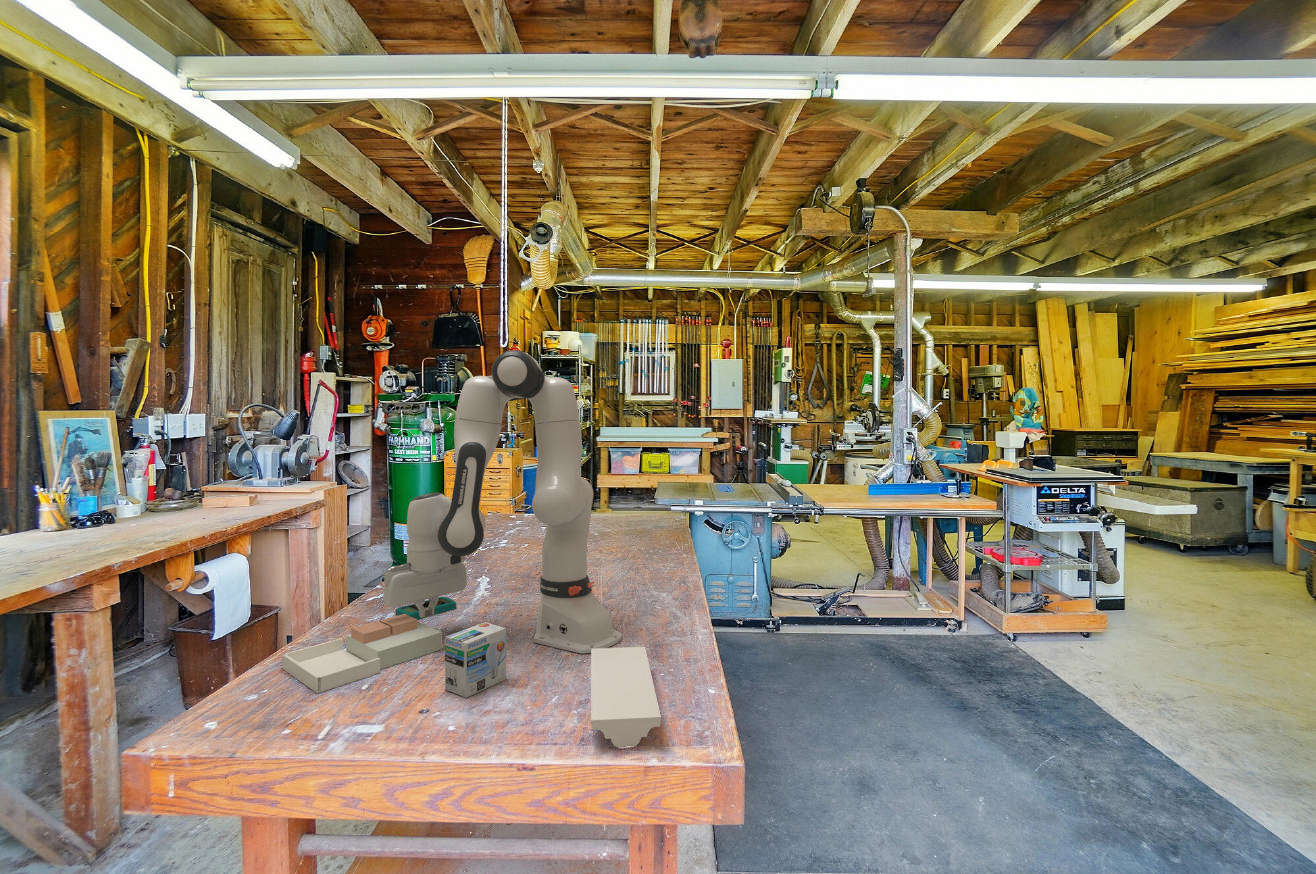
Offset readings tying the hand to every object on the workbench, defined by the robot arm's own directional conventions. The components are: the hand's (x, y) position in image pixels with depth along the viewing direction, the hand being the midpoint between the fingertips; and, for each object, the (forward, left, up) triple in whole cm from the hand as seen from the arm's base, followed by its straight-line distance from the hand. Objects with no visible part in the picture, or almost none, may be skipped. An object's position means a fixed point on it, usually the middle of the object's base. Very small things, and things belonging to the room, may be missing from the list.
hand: (426, 616), depth 146 cm
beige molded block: (-59, -5, -6) cm, 60 cm away
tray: (-2, +23, -5) cm, 24 cm away
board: (-2, +9, -5) cm, 11 cm away
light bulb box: (-31, +7, -6) cm, 32 cm away
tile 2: (0, +7, -1) cm, 7 cm away
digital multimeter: (+17, -10, -6) cm, 20 cm away
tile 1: (0, +14, -1) cm, 14 cm away
